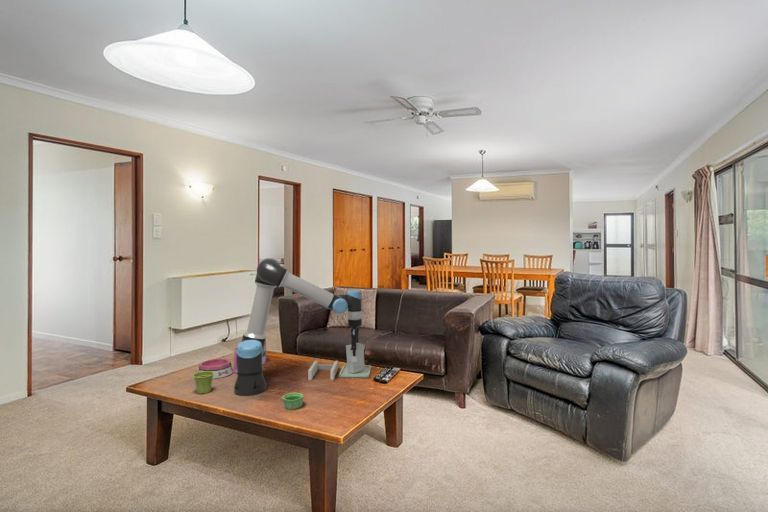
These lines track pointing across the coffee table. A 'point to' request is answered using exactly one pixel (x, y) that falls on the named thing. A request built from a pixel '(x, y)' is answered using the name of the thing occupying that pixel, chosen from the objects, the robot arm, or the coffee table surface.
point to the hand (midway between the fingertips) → (355, 359)
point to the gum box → (236, 358)
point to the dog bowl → (217, 367)
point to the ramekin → (292, 400)
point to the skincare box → (358, 365)
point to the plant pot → (203, 381)
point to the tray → (361, 374)
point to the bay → (317, 366)
